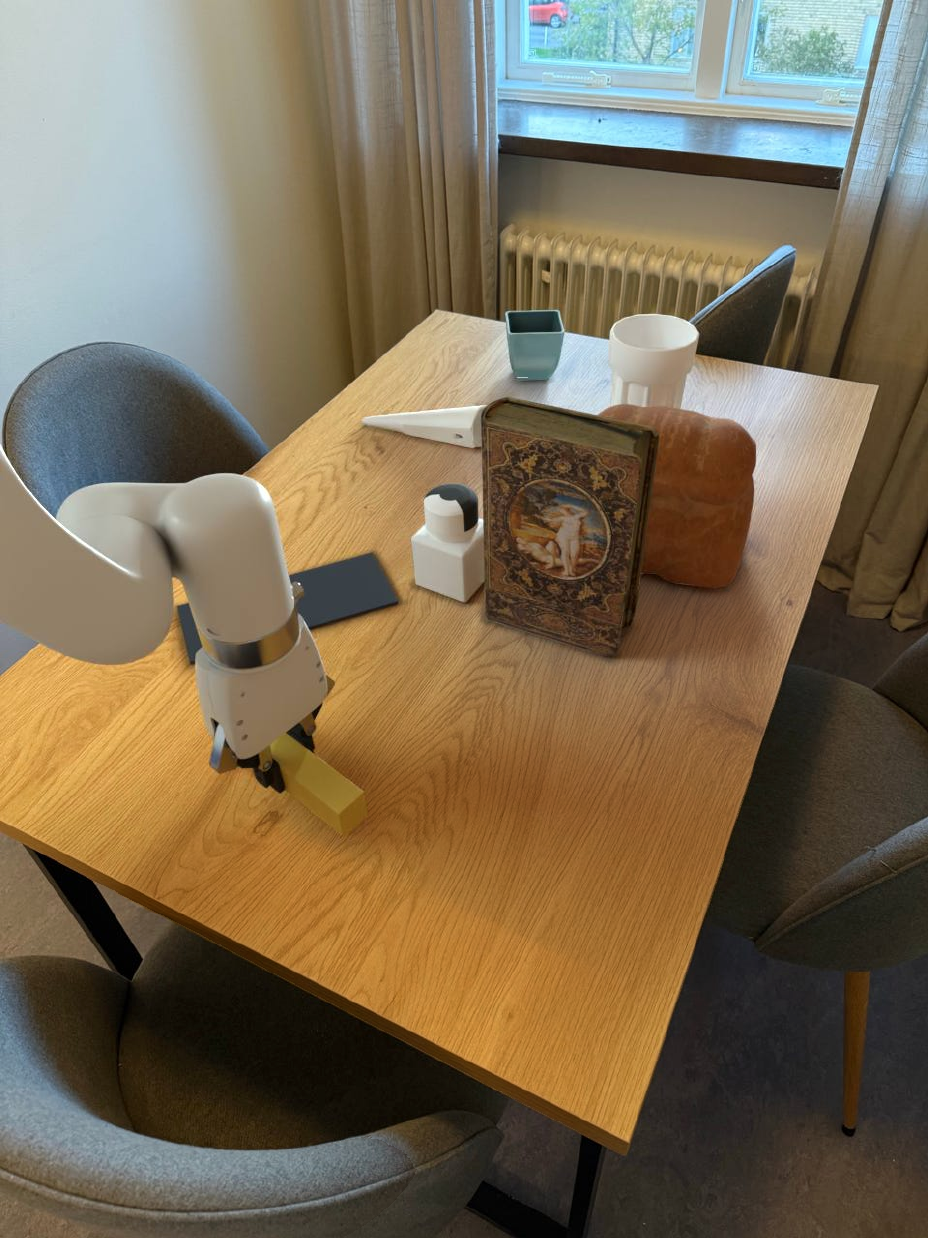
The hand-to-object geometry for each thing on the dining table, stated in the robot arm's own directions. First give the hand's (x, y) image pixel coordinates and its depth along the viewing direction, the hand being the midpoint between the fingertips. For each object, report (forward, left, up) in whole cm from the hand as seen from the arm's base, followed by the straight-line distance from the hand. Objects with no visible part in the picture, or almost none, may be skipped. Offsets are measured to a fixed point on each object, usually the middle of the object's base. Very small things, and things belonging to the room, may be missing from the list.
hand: (287, 770), depth 77 cm
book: (+33, -6, -3) cm, 34 cm away
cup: (+70, +6, -3) cm, 71 cm away
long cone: (+55, +34, -3) cm, 65 cm away
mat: (+16, +20, -2) cm, 26 cm away
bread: (+52, -7, -3) cm, 53 cm away
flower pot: (+79, +32, -3) cm, 86 cm away
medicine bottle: (+32, +8, -3) cm, 33 cm away
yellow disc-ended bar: (0, 0, 0) cm, 0 cm away
